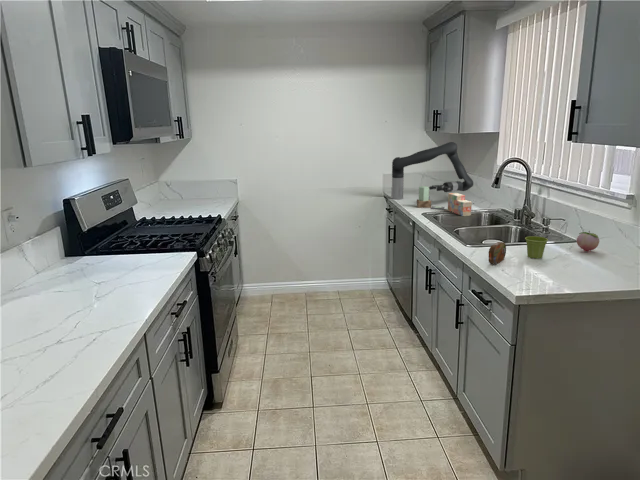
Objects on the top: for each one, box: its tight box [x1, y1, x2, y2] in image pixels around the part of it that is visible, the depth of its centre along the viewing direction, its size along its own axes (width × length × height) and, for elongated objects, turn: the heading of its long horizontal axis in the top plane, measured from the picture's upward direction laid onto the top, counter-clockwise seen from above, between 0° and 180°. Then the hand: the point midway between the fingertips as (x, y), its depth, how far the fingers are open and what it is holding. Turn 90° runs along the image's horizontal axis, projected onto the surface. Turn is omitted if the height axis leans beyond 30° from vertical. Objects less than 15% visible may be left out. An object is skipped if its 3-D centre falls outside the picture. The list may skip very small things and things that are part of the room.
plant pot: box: [524, 235, 549, 260], centre depth 199 cm, size 9×9×9 cm
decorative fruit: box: [576, 230, 600, 252], centre depth 205 cm, size 9×8×10 cm
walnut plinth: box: [416, 198, 432, 209], centre depth 323 cm, size 9×9×5 cm
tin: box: [488, 241, 507, 265], centre depth 195 cm, size 15×3×8 cm, turn 138°
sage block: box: [418, 185, 430, 201], centre depth 321 cm, size 5×5×10 cm
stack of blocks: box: [447, 192, 473, 217], centre depth 298 cm, size 21×6×12 cm, turn 11°
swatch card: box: [430, 205, 446, 210], centre depth 317 cm, size 9×7×1 cm
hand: (433, 188), depth 324 cm, fingers open, 8 cm apart
